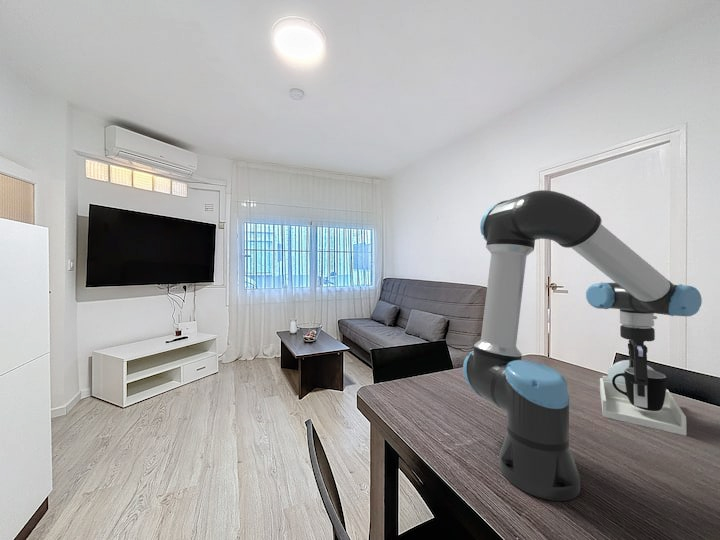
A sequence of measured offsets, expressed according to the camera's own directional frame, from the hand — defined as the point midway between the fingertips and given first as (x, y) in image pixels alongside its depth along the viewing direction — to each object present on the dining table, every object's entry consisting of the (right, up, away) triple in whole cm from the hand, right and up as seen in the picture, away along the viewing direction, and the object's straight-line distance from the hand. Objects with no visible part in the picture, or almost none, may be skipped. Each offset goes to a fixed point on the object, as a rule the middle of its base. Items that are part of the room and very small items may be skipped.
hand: (638, 400), depth 87 cm
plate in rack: (+7, -5, +8) cm, 12 cm away
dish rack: (+3, -5, +3) cm, 6 cm away
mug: (0, -2, 0) cm, 2 cm away
